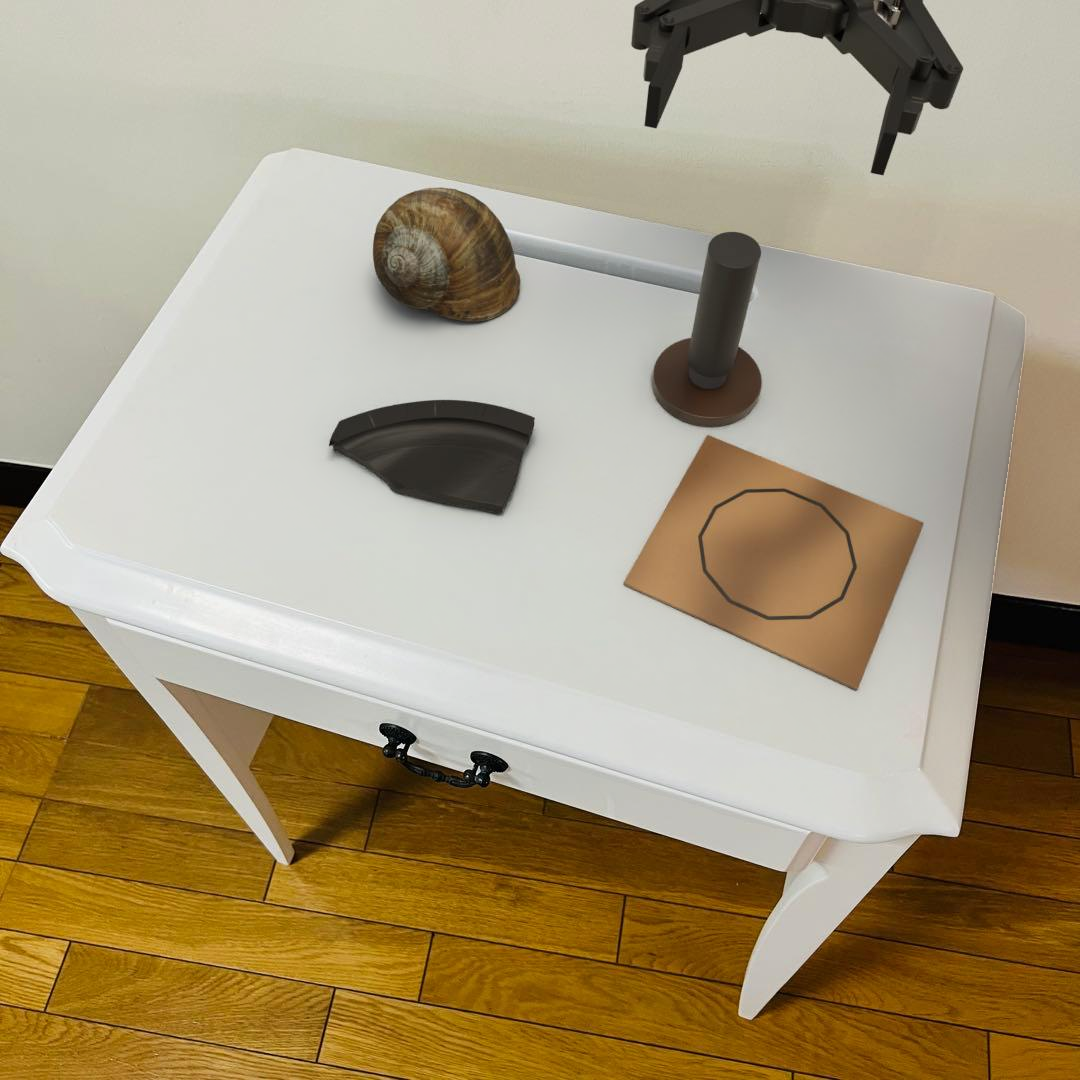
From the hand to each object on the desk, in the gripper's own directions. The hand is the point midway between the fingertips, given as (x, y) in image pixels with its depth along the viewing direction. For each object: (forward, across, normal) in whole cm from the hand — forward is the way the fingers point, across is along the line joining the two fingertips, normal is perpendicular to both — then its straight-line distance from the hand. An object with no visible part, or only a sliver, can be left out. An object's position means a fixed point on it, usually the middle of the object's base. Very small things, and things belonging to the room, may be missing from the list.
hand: (765, 131), depth 61 cm
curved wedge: (+13, +17, -21) cm, 30 cm away
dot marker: (+1, 0, -20) cm, 20 cm away
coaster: (+1, 0, -21) cm, 21 cm away
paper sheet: (+14, -8, -21) cm, 27 cm away
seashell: (-2, +22, -21) cm, 31 cm away
